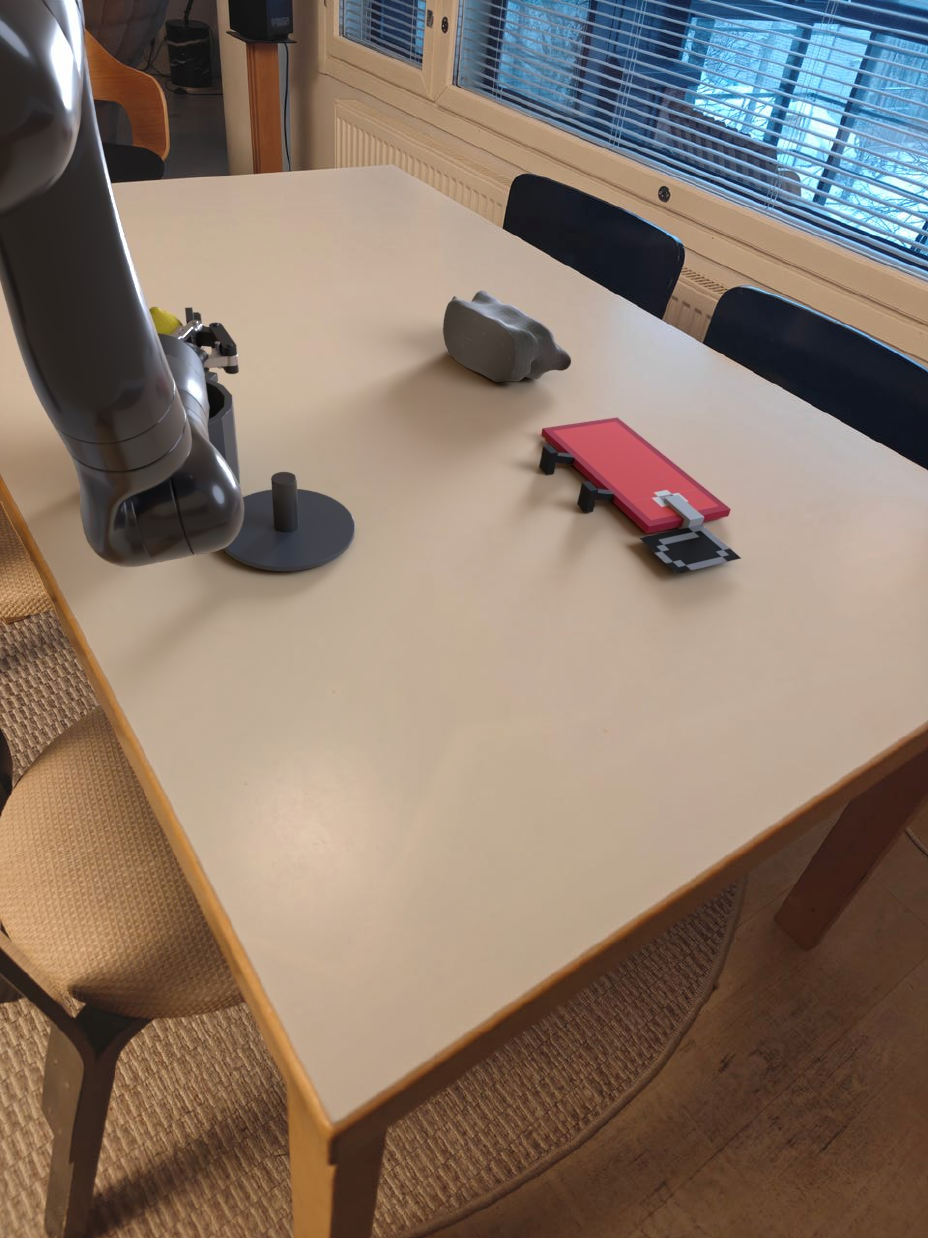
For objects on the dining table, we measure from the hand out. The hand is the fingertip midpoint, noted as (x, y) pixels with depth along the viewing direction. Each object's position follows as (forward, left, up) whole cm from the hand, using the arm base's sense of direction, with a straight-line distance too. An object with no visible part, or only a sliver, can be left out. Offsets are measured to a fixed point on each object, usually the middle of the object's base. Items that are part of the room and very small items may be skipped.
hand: (156, 318), depth 82 cm
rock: (+28, +42, -17) cm, 53 cm away
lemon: (+1, -2, -6) cm, 7 cm away
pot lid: (+15, -7, -16) cm, 23 cm away
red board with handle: (+49, +13, -17) cm, 54 cm away
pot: (+1, -2, -17) cm, 17 cm away
